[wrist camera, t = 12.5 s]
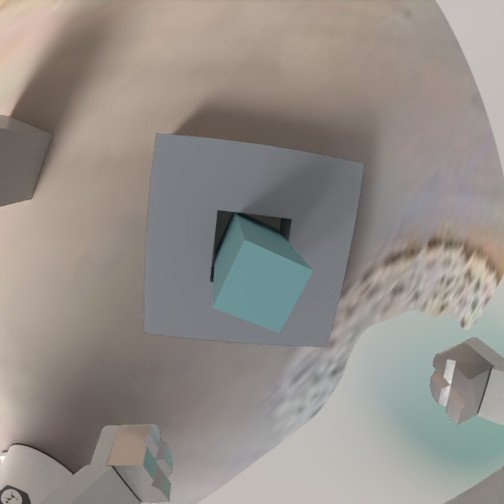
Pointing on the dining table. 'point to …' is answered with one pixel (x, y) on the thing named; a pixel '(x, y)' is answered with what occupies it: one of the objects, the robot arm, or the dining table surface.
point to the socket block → (254, 205)
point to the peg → (257, 273)
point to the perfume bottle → (20, 159)
